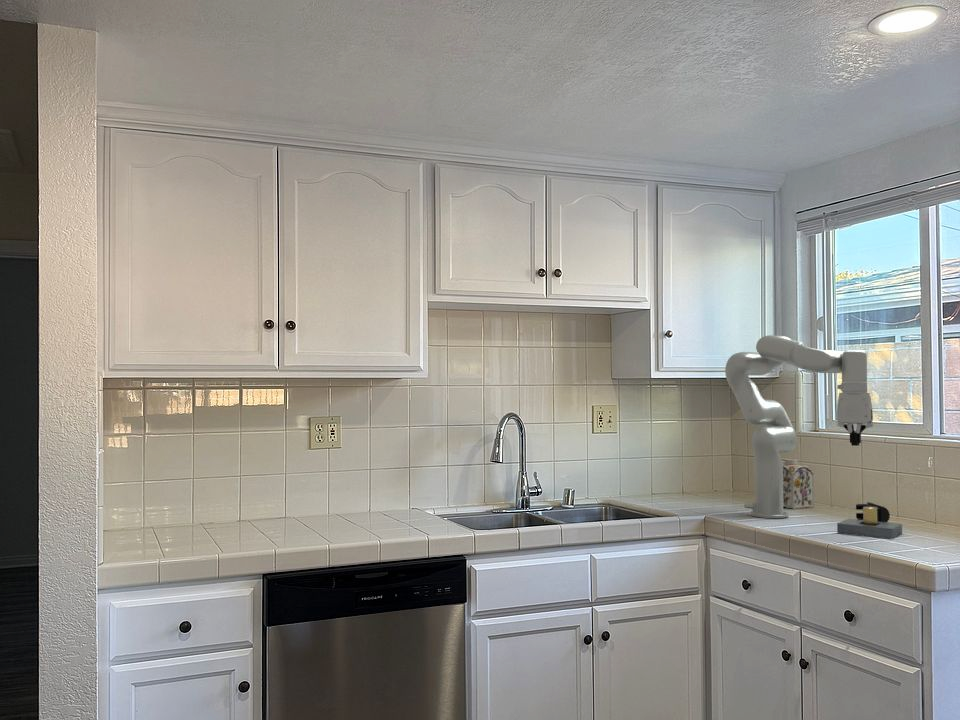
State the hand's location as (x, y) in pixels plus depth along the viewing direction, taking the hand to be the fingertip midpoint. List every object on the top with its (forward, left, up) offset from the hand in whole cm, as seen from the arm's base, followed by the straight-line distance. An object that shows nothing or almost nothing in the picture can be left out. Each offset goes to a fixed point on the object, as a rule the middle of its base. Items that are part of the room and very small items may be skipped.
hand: (855, 445), depth 271 cm
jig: (+5, -4, -27) cm, 28 cm away
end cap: (+1, +15, -27) cm, 31 cm away
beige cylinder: (+5, -4, -27) cm, 28 cm away
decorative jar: (-34, +39, -27) cm, 59 cm away
